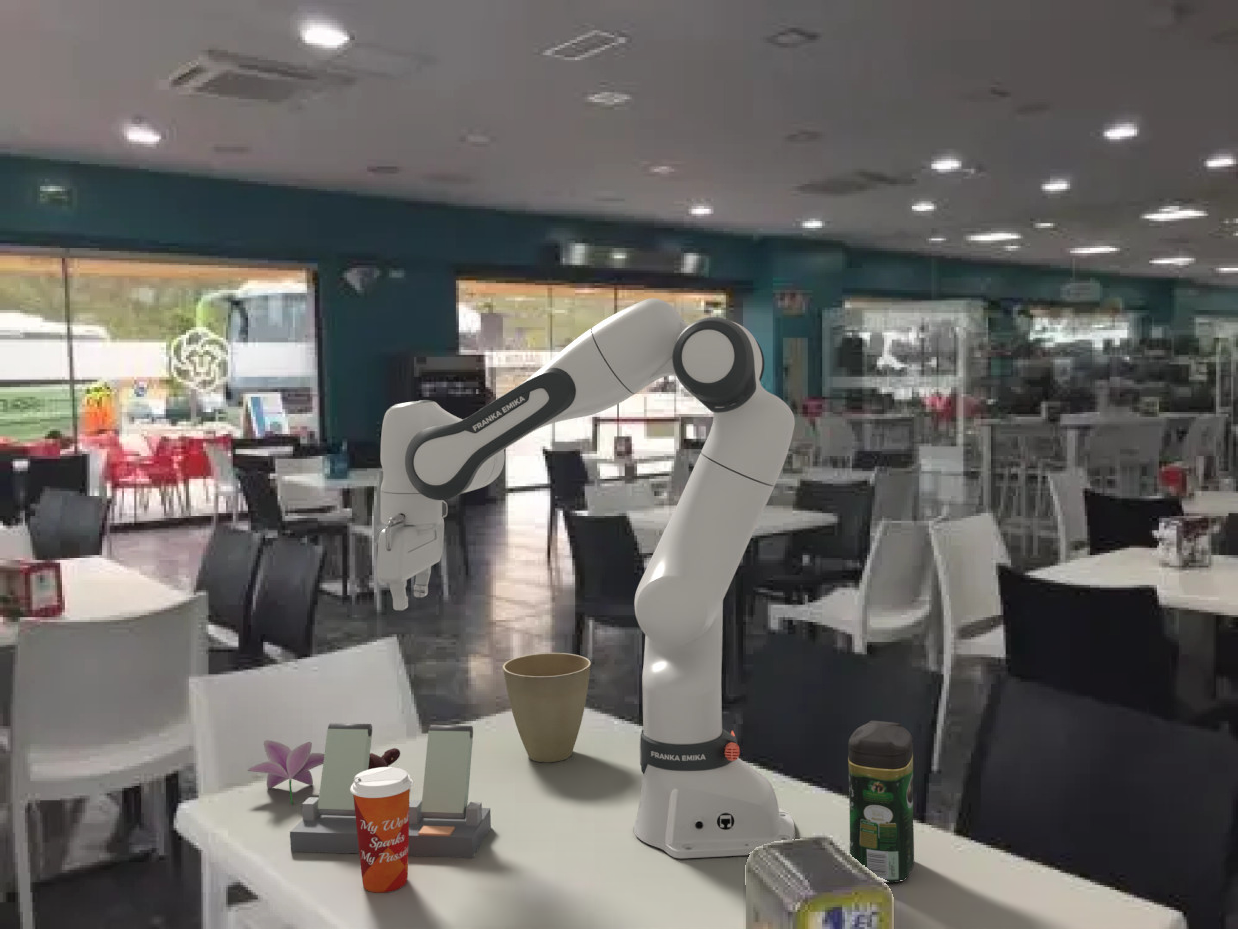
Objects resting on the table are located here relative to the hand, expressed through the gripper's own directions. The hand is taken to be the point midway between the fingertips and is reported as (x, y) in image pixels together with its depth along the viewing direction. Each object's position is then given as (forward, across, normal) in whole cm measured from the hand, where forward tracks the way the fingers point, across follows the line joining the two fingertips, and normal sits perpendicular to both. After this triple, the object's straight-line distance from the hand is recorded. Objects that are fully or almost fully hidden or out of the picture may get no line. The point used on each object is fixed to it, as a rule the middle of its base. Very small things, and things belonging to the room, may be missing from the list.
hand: (410, 602), depth 160 cm
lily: (+32, +4, +20) cm, 38 cm away
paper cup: (+31, -24, -5) cm, 40 cm away
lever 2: (+27, -12, -8) cm, 30 cm away
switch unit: (+31, -12, -1) cm, 33 cm away
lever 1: (+28, -12, +6) cm, 30 cm away
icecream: (+32, +4, +8) cm, 33 cm away
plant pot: (+31, +23, -17) cm, 42 cm away
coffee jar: (+29, -16, -68) cm, 75 cm away
